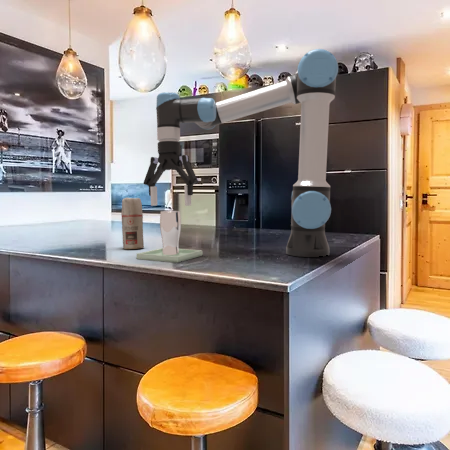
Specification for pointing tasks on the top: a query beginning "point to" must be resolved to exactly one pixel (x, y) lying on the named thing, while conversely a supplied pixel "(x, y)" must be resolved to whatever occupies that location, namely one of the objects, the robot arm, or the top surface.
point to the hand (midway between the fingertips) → (170, 205)
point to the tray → (157, 256)
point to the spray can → (132, 223)
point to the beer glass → (170, 232)
